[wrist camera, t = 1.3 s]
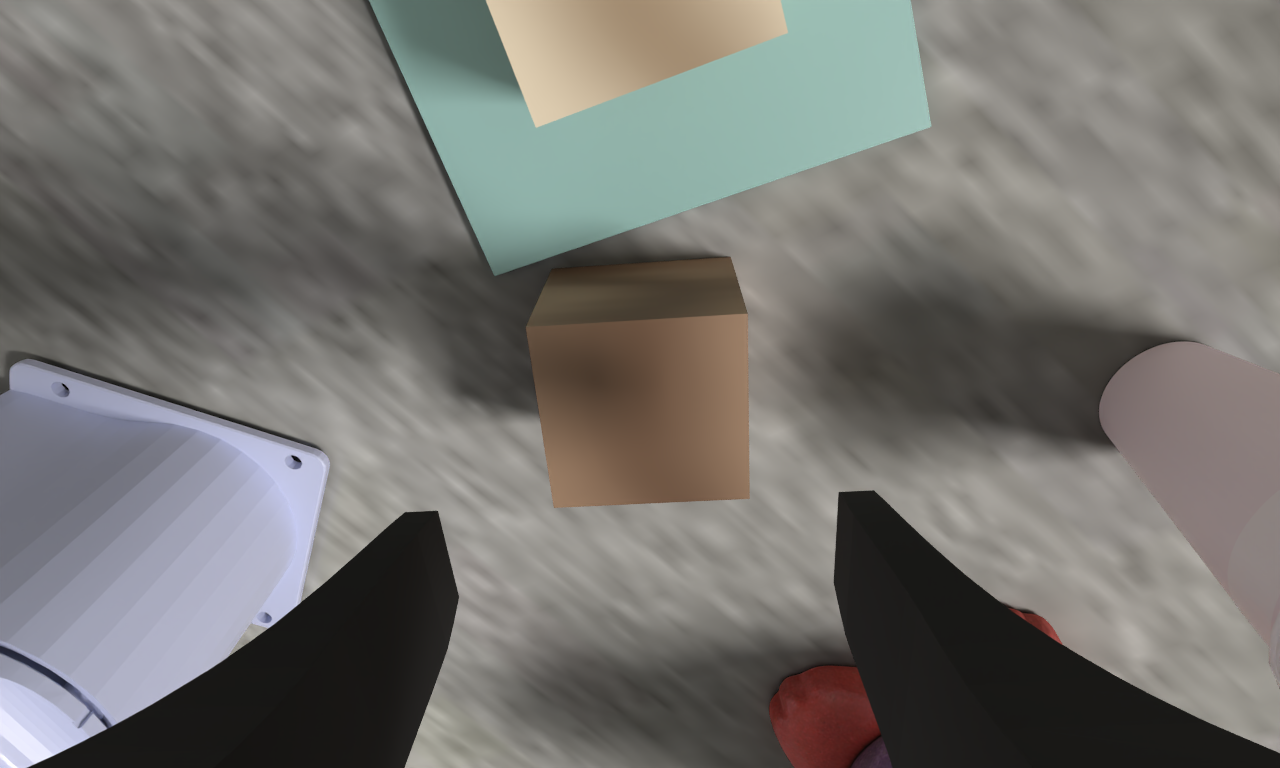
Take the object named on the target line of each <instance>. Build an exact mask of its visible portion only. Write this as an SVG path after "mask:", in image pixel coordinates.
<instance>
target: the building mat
mask: <svg viewBox="0 0 1280 768" xmlns="http://www.w3.org/2000/svg"><path fill="white" fill-rule="evenodd" d="M369 2H370V4H371V6H372V8H373V10H374V13H375V15H376V17H377V19H378V21H379V24H380V26H381V28H382V30H383V32H384V35H385V37H386V39H387V41H388V43H389V46H390V48H391V50H392V52H393V54H394V56H395V59H396V61H397V63H398V65H399V67H400V70H401V72H402V74H403V76H404V78H405V81H406V83H407V85H408V87H409V89H410V92H411V94H412V96H413V98H414V100H415V103H416V105H417V107H418V109H419V111H420V114H421V116H422V118H423V120H424V122H425V125H426V127H427V129H428V131H429V133H430V136H431V138H432V140H433V142H434V144H435V147H436V149H437V151H438V153H439V155H440V157H441V160H442V162H443V164H444V166H445V168H446V171H447V173H448V175H449V177H450V179H451V182H452V184H453V186H454V188H455V190H456V193H457V195H458V197H459V199H460V201H461V204H462V206H463V208H464V210H465V212H466V215H467V217H468V219H469V221H470V223H471V226H472V228H473V230H474V232H475V234H476V237H477V239H478V241H479V243H480V245H481V248H482V250H483V252H484V254H485V256H486V258H487V261H488V263H489V265H490V267H491V269H492V272H493V274H494V276H497V275H500V274H503V273H506V272H508V271H511V270H514V269H517V268H520V267H523V266H526V265H529V264H532V263H535V262H538V261H541V260H543V259H546V258H549V257H552V256H555V255H558V254H561V253H564V252H567V251H570V250H573V249H576V248H579V247H581V246H584V245H587V244H590V243H593V242H596V241H599V240H602V239H605V238H608V237H611V236H614V235H616V234H619V233H622V232H625V231H628V230H631V229H634V228H637V227H640V226H643V225H646V224H649V223H652V222H654V221H657V220H660V219H663V218H666V217H669V216H672V215H675V214H678V213H681V212H684V211H687V210H690V209H692V208H695V207H698V206H701V205H704V204H707V203H710V202H713V201H716V200H719V199H722V198H725V197H727V196H730V195H733V194H736V193H739V192H742V191H745V190H748V189H751V188H754V187H757V186H760V185H763V184H765V183H768V182H771V181H774V180H777V179H780V178H783V177H786V176H789V175H792V174H795V173H798V172H800V171H803V170H806V169H809V168H812V167H815V166H818V165H821V164H824V163H827V162H830V161H833V160H836V159H838V158H841V157H844V156H847V155H850V154H853V153H856V152H859V151H862V150H865V149H868V148H871V147H873V146H876V145H879V144H882V143H885V142H888V141H891V140H894V139H897V138H900V137H903V136H906V135H909V134H911V133H914V132H917V131H920V130H923V129H926V128H929V127H931V122H930V116H929V110H928V104H927V97H926V91H925V85H924V79H923V73H922V67H921V61H920V55H919V49H918V43H917V37H916V31H915V25H914V19H913V13H912V7H911V1H910V0H781V4H782V8H783V13H784V17H785V21H786V26H787V30H788V33H787V34H784V35H781V36H779V37H776V38H773V39H771V40H768V41H765V42H763V43H760V44H757V45H755V46H752V47H749V48H747V49H744V50H741V51H739V52H736V53H733V54H731V55H728V56H725V57H723V58H720V59H717V60H715V61H712V62H710V63H707V64H704V65H702V66H699V67H696V68H694V69H691V70H688V71H686V72H683V73H680V74H678V75H675V76H672V77H670V78H667V79H664V80H662V81H659V82H656V83H654V84H651V85H648V86H646V87H643V88H641V89H638V90H635V91H633V92H630V93H627V94H625V95H622V96H619V97H617V98H614V99H611V100H609V101H606V102H603V103H601V104H598V105H595V106H593V107H590V108H587V109H585V110H582V111H579V112H577V113H574V114H572V115H569V116H566V117H564V118H561V119H558V120H556V121H553V122H550V123H548V124H545V125H542V126H540V127H537V128H536V127H535V124H534V122H533V119H532V117H531V114H530V112H529V109H528V107H527V104H526V101H525V99H524V96H523V94H522V91H521V89H520V86H519V84H518V81H517V79H516V76H515V73H514V71H513V68H512V66H511V63H510V61H509V58H508V56H507V53H506V51H505V48H504V45H503V43H502V40H501V38H500V35H499V33H498V30H497V28H496V25H495V23H494V20H493V17H492V15H491V12H490V10H489V7H488V5H487V2H486V0H369Z"/></svg>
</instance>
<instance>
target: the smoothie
mask: <svg viewBox="0 0 1280 768" xmlns="http://www.w3.org/2000/svg"><path fill="white" fill-rule="evenodd" d="M1099 419H1100V423H1101V426H1102V428H1103V430H1104V432H1105V433H1106V435H1107V436H1108V437H1109V439H1110V440H1111V441H1112V442H1113V444H1114V445H1115V446H1116V448H1117V449H1118V450H1119V452H1120V453H1121V454H1122V456H1123V457H1124V458H1125V460H1126V461H1127V462H1128V463H1129V465H1130V466H1131V467H1132V469H1133V470H1134V471H1135V473H1136V474H1137V475H1138V477H1139V478H1140V479H1141V480H1142V482H1143V483H1144V484H1145V486H1146V487H1147V488H1148V490H1149V491H1150V492H1151V494H1152V495H1153V496H1154V497H1155V499H1156V500H1157V501H1158V503H1159V504H1160V505H1161V507H1162V508H1163V509H1164V511H1165V512H1166V513H1167V514H1168V516H1169V517H1170V518H1171V520H1172V521H1173V522H1174V524H1175V525H1176V526H1177V528H1178V529H1179V530H1180V532H1181V533H1182V534H1183V535H1184V537H1185V538H1186V539H1187V541H1188V542H1189V543H1190V545H1191V546H1192V547H1193V549H1194V550H1195V551H1196V552H1197V554H1198V555H1199V556H1200V558H1201V559H1202V560H1203V562H1204V563H1205V564H1206V566H1207V567H1208V568H1209V569H1210V571H1211V572H1212V573H1213V575H1214V576H1215V577H1216V579H1217V580H1218V581H1219V583H1220V584H1221V585H1222V587H1223V588H1224V589H1225V590H1226V592H1227V593H1228V594H1229V596H1230V597H1231V598H1232V600H1233V601H1234V603H1235V604H1236V606H1237V607H1238V608H1239V610H1240V611H1241V612H1242V614H1243V615H1244V616H1245V617H1246V619H1247V620H1248V621H1249V623H1250V624H1251V625H1252V626H1253V628H1254V629H1255V630H1256V631H1257V633H1258V634H1259V635H1260V636H1261V638H1262V639H1263V640H1264V641H1265V643H1266V644H1267V645H1268V646H1269V648H1270V651H1269V664H1270V666H1271V669H1272V671H1273V674H1274V676H1275V679H1276V681H1277V684H1278V686H1279V689H1280V374H1279V373H1276V372H1273V371H1271V370H1268V369H1266V368H1263V367H1261V366H1258V365H1255V364H1253V363H1250V362H1248V361H1245V360H1242V359H1240V358H1237V357H1235V356H1232V355H1230V354H1227V353H1224V352H1222V351H1219V350H1217V349H1214V348H1212V347H1209V346H1206V345H1204V344H1200V343H1196V342H1187V341H1182V342H1171V343H1166V344H1162V345H1159V346H1156V347H1153V348H1151V349H1148V350H1146V351H1144V352H1142V353H1140V354H1139V355H1137V356H1135V357H1134V358H1132V359H1131V360H1130V361H1128V362H1127V363H1126V364H1125V365H1123V366H1122V367H1121V368H1120V369H1119V370H1118V371H1117V372H1116V373H1115V375H1114V376H1113V377H1112V378H1111V380H1110V381H1109V383H1108V384H1107V386H1106V388H1105V390H1104V392H1103V394H1102V397H1101V401H1100V406H1099Z"/></svg>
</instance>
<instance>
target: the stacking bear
mask: <svg viewBox="0 0 1280 768" xmlns="http://www.w3.org/2000/svg"><path fill="white" fill-rule="evenodd" d="M1010 610H1011V611H1013V612H1014V613H1016V614H1017V615H1018V616H1020V617H1021V618H1023V619H1024V620H1026V621H1027V622H1029V623H1030V624H1032V625H1033V626H1035V627H1036V628H1038V629H1039V630H1041V631H1042V632H1044V633H1045V634H1047V635H1048V636H1050V637H1051V638H1053V639H1054V640H1056V641H1057V642H1059V643H1060V644H1062V643H1061V641H1060V639H1059V638H1058V636H1057V634H1056V632H1055V631H1054V629H1053V628H1052V626H1051V625H1050V624H1049V623H1048V622H1047V621H1046V620H1045V619H1044V618H1042V617H1040V616H1038V615H1035V614H1026V613H1021V612H1020V611H1018V610H1015V609H1010ZM769 715H770V719H771V723H772V726H773V729H774V732H775V735H776V737H777V739H778V741H779V743H780V745H781V747H782V749H783V751H784V752H785V754H786V756H787V757H788V759H789V760H790V762H791V763H792V765H793V766H794V768H892V765H891V762H890V758H889V755H888V752H887V749H886V747H885V744H884V741H883V738H882V735H881V733H880V730H879V727H878V724H877V722H876V719H875V716H874V713H873V711H872V708H871V705H870V702H869V700H868V697H867V694H866V691H865V688H864V686H863V683H862V680H861V677H860V675H859V672H858V669H857V667H846V666H819V667H815V668H812V669H809V670H807V671H805V672H803V673H801V674H798V675H794V676H790V677H788V678H786V679H785V680H783V682H782V684H781V685H780V687H779V691H778V692H777V693H776V694H775V695H774V697H773V698H772V699H771V702H770V706H769Z"/></svg>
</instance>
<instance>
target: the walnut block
mask: <svg viewBox="0 0 1280 768" xmlns="http://www.w3.org/2000/svg"><path fill="white" fill-rule="evenodd" d="M526 333H527V339H528V345H529V352H530V358H531V365H532V371H533V377H534V384H535V390H536V396H537V403H538V409H539V415H540V422H541V428H542V435H543V441H544V447H545V454H546V460H547V466H548V473H549V479H550V486H551V492H552V498H553V505H554V508H559V507H581V506H602V505H624V504H645V503H667V502H688V501H710V500H731V499H750V497H749V401H748V313H747V310H746V307H745V303H744V300H743V297H742V293H741V290H740V287H739V283H738V280H737V277H736V273H735V270H734V267H733V263H732V260H731V257H721V258H706V259H691V260H676V261H661V262H645V263H630V264H615V265H600V266H585V267H570V268H555V269H552V270H551V272H550V274H549V276H548V279H547V281H546V283H545V285H544V288H543V290H542V292H541V294H540V296H539V299H538V301H537V303H536V305H535V307H534V310H533V312H532V314H531V316H530V319H529V321H528V323H527V325H526Z"/></svg>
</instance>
